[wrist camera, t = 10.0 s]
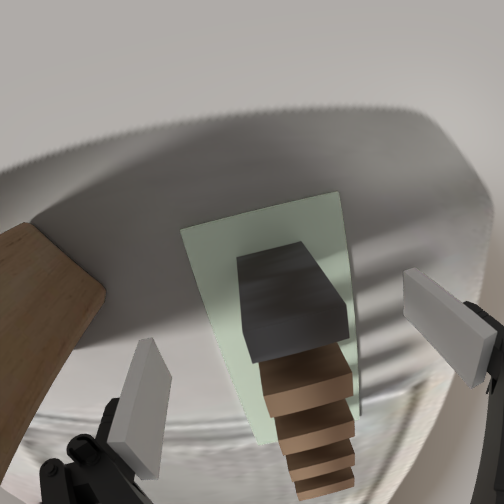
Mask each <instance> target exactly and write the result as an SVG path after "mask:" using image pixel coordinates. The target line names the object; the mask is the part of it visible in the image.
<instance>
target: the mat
mask: <svg viewBox="0 0 504 504" xmlns="http://www.w3.org/2000/svg"><path fill="white" fill-rule="evenodd" d="M180 233H181V236H182V239H183V243H184V246H185V249H186V252H187V255H188V258H189V261H190V264H191V268H192V271H193V274H194V277H195V280H196V283H197V286H198V289H199V292H200V294H201V297H202V300H203V303H204V306H205V309H206V312H207V315H208V318H209V320H210V323H211V326H212V329H213V332H214V334H215V337H216V340H217V343H218V345H219V348H220V351H221V353H222V356H223V359H224V361H225V364H226V367H227V369H228V372H229V374H230V377H231V380H232V382H233V385H234V387H235V390H236V392H237V395H238V397H239V400H240V402H241V405H242V407H243V410H244V412H245V415H246V417H247V419H248V422H249V424H250V427H251V429H252V431H253V434H254V436H255V438H256V441H257V443H258V445H263V444H268V443H273V442H278V438H277V432H276V426H275V420H274V417H273V418H270V415H269V412H268V409H267V406H266V403H265V400H264V397H263V392H262V385H261V378H260V371H259V364H258V363H254V364H252V361H251V358H250V355H249V352H248V349H247V345H246V342H245V339H244V336H243V333H242V322H241V310H240V297H239V285H238V272H237V259H236V257H239V256H243V255H247V254H251V253H255V252H259V251H263V250H267V249H271V248H276V247H280V246H284V245H288V244H292V243H296V242H300V241H302V243H303V244H304V245H305V247H306V248H307V249H308V251H309V252H310V254H311V255H312V256H313V258H314V259H315V261H316V262H317V263H318V265H319V266H320V268H321V269H322V270H323V272H324V273H325V275H326V276H327V278H328V279H329V280H330V282H331V283H332V285H333V286H334V288H335V289H336V290H337V292H338V293H339V295H340V296H341V298H342V299H343V300H344V302H345V303H346V305H347V314H348V325H349V336H350V338H349V339H345V340H342V341H339V342H337V343H338V345H339V347H340V349H341V351H342V353H343V355H344V357H345V359H346V361H347V363H348V365H349V367H350V369H351V371H352V374H353V394H354V396H351V397H348V398H345V399H346V401H347V404H348V406H349V409H350V411H351V413H352V416H353V418H354V421H356V420H359V379H358V357H357V341H356V326H355V314H354V303H353V292H352V283H351V274H350V265H349V257H348V249H347V242H346V235H345V228H344V221H343V214H342V208H341V202H340V196H339V192H338V191H335V192H331V193H326V194H322V195H317V196H313V197H308V198H304V199H300V200H295V201H291V202H287V203H283V204H278V205H274V206H270V207H266V208H262V209H258V210H254V211H249V212H245V213H241V214H237V215H233V216H230V217H226V218H222V219H218V220H214V221H210V222H206V223H202V224H199V225H195V226H191V227H187V228H184V229H181V230H180Z"/></svg>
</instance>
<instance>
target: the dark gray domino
mask: <svg viewBox="0 0 504 504" xmlns="http://www.w3.org/2000/svg"><path fill="white" fill-rule="evenodd" d="M236 259H237V272H238V285H239V297H240V310H241V322H242V333H243V336H244V339H245V342H246V345H247V349H248V352H249V355H250V358H251V361H252V364H254V363H259V362H263V361H267V360H272V359H276V358H280V357H284V356H288V355H292V354H296V353H299V352H303V351H307V350H311V349H314V348H318V347H321V346H325V345H328V344H332V343H335V342H339V341H342V340H345V339H349V338H350V336H349V325H348V314H347V305H346V303H345V302H344V300H343V299H342V298H341V296H340V295H339V293H338V292H337V290H336V289H335V288H334V286H333V285H332V283H331V282H330V280H329V279H328V278H327V276H326V275H325V273H324V272H323V270H322V269H321V268H320V266H319V265H318V263H317V262H316V261H315V259H314V258H313V256H312V255H311V254H310V252H309V251H308V249H307V248H306V247H305V245H304V244H303V243H302V241H300V242H296V243H292V244H288V245H284V246H280V247H276V248H271V249H267V250H263V251H259V252H255V253H251V254H247V255H243V256H239V257H236Z"/></svg>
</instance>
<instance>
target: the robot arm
mask: <svg viewBox="0 0 504 504" xmlns="http://www.w3.org/2000/svg"><path fill="white" fill-rule="evenodd" d="M403 293H404V306H403V315H404V316H405V317H406V318H407V319H408V320H409V321H410V322H411V323H412V325H413V326H414V327H415V328H416V329H417V330H418V331H419V332H420V333H421V334H422V335H423V336H424V337H425V338H426V339H427V341H428V342H429V343H430V344H431V345H432V346H433V347H434V348H435V349H436V350H437V351H438V353H439V354H440V355H441V356H442V357H443V358H444V359H445V360H446V361H447V363H448V364H449V365H450V366H451V367H452V368H453V369H454V370H455V372H456V373H457V374H458V375H459V376H460V377H461V378H462V380H463V381H464V382H465V383H466V384H467V385H468V386H469V388H470V389H472V388H474V387H475V386H477V385H479V384H481V383H482V382H484V379H485V375H486V372H488V373H489V374H490V375H491V379H490V382H489V385H488V388H487V391H486V394H488V392H489V401H488V411H487V412H488V413H487V421H486V429H485V437H484V443H483V449H482V455H481V461H480V466H479V470H478V475H477V479H476V484H475V488H474V492H473V496H472V500H471V503H470V504H504V326H503V325H501V324H500V323H499V322H498V321H497V320H495V319H494V318H493V317H492V316H490V315H489V314H488V313H487V312H485V311H483V309H481V308H480V307H479V306H478V305H476V304H474V303H471V302H468V301H466V302H463V303H462V302H460V301H459V300H458V299H457V298H455V297H454V296H453V295H451V294H450V293H449V292H448V291H446V290H445V289H444V288H442V287H441V286H440V285H438V284H437V283H436V282H434V281H433V280H432V279H430V278H429V277H428V276H426V275H425V274H424V273H422V272H421V271H420V270H418V269H417V268H415V267H414V268H411V269H408V270H405V271H403ZM171 381H172V376H171V374H170V372H169V370H168V368H167V366H166V364H165V362H164V360H163V358H162V356H161V354H160V352H159V350H158V348H157V346H156V344H155V342H154V339H153V337H152V338H147V339H142V340H139V342H138V345H137V348H136V350H135V353H134V356H133V359H132V362H131V365H130V368H129V371H128V374H127V377H126V380H125V383H124V386H123V389H122V393H121V396H120V398H112V399H111V401H110V402H109V403H108V404H107V406H106V407H105V410H104V413H103V417H102V419H101V424H100V425H99V429H98V432H97V435H96V438H95V439H94V438H93V437H92V436H91V435H89V434H80V435H78V436H75V437H74V438H73V439H72V440H71V441H70V442H69V444H68V446H67V455H68V456H69V457H70V458H71V459H72V460H73V461H74V462H73V463H69V464H64V463H63V462H62V461H60V460H59V459H56V458H52V459H49V460H47V461H45V462H44V463H43V464H42V466H41V468H40V473H39V476H40V487H41V496H42V504H153V503H152V501H151V500H150V499H149V498H148V497H147V496H146V494H145V493H144V492H143V491H142V490H141V488H140V487H139V486H138V485H137V484H136V483H135V482H134V476H135V474H136V475H137V476H138V477H139V478H140V479H141V480H158V479H159V470H160V461H161V453H162V445H163V437H164V429H165V422H166V415H167V408H168V401H169V394H170V388H171Z"/></svg>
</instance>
